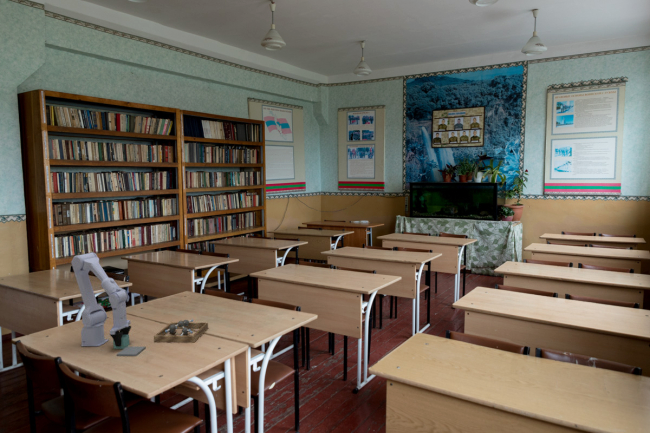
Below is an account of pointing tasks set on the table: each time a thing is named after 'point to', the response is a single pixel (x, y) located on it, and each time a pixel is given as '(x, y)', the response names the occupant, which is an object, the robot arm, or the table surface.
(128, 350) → the mat
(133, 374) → the table surface
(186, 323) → the molecule model
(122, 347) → the cube
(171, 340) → the display frame
